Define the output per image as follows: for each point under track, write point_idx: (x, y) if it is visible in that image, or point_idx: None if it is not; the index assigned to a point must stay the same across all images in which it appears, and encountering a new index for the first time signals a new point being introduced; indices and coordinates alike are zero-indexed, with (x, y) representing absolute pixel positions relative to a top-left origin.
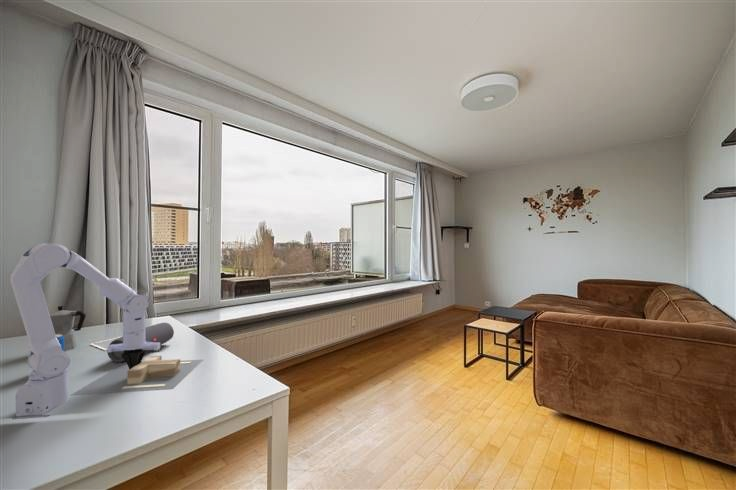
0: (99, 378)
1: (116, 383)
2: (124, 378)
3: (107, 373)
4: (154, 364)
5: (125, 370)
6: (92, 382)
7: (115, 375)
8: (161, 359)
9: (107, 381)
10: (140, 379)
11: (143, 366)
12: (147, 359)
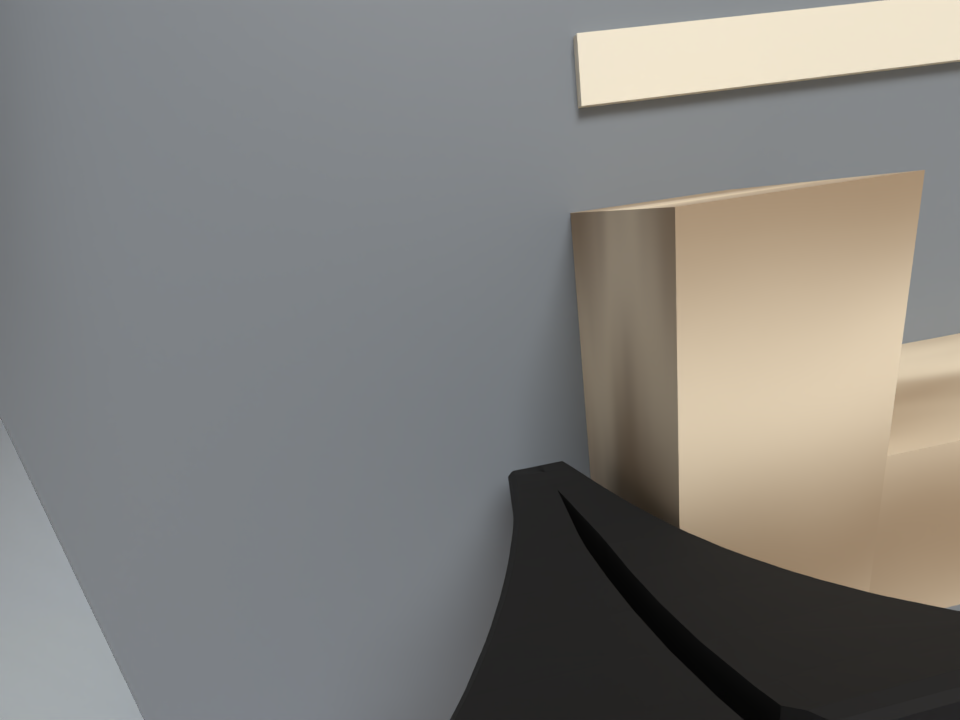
0: (104, 597)
1: (471, 664)
2: (461, 561)
3: (31, 451)
4: (953, 602)
5: (231, 332)
6: (142, 688)
7: (248, 502)
8: (835, 179)
9: (314, 643)
10: None
11: None
12: (723, 418)
